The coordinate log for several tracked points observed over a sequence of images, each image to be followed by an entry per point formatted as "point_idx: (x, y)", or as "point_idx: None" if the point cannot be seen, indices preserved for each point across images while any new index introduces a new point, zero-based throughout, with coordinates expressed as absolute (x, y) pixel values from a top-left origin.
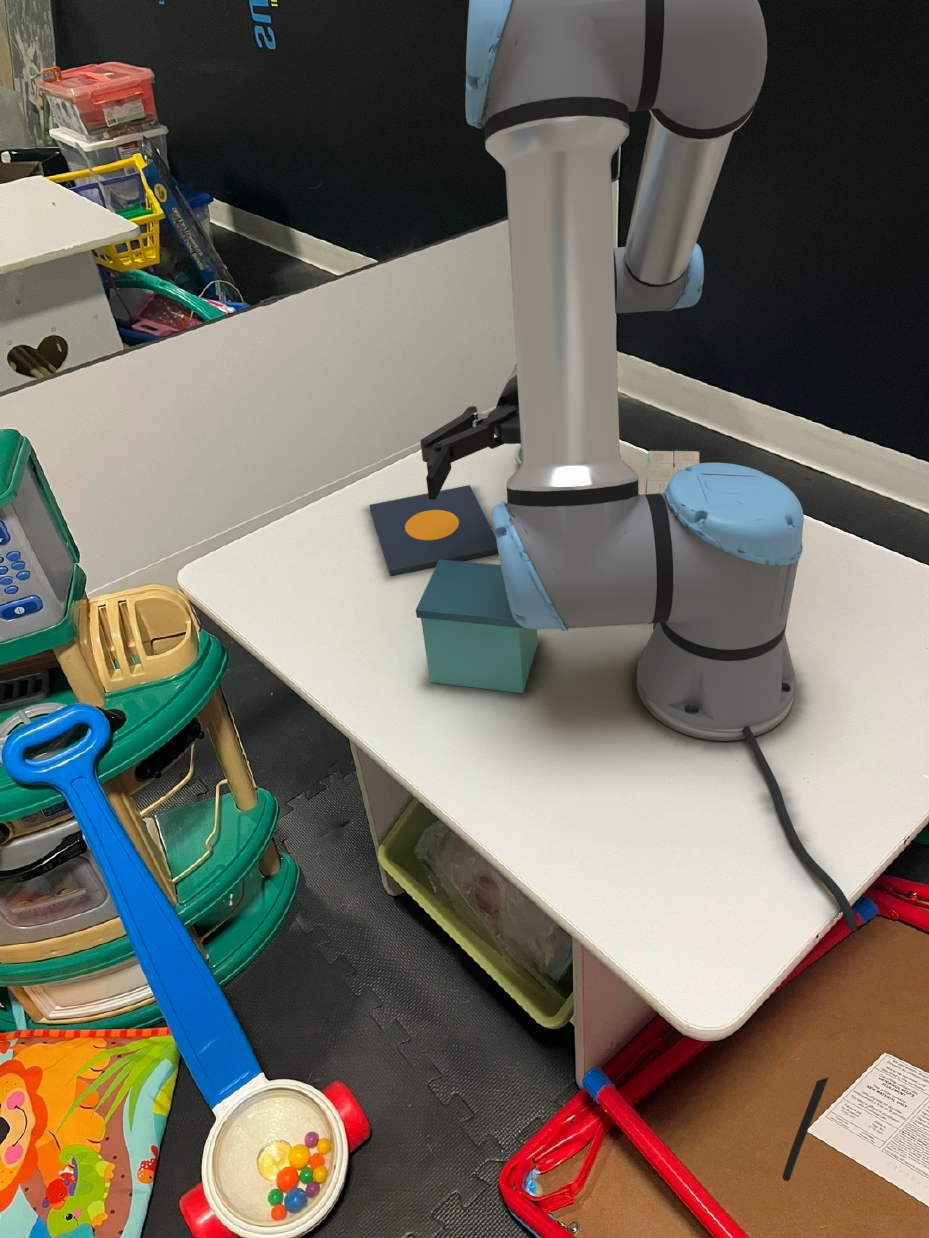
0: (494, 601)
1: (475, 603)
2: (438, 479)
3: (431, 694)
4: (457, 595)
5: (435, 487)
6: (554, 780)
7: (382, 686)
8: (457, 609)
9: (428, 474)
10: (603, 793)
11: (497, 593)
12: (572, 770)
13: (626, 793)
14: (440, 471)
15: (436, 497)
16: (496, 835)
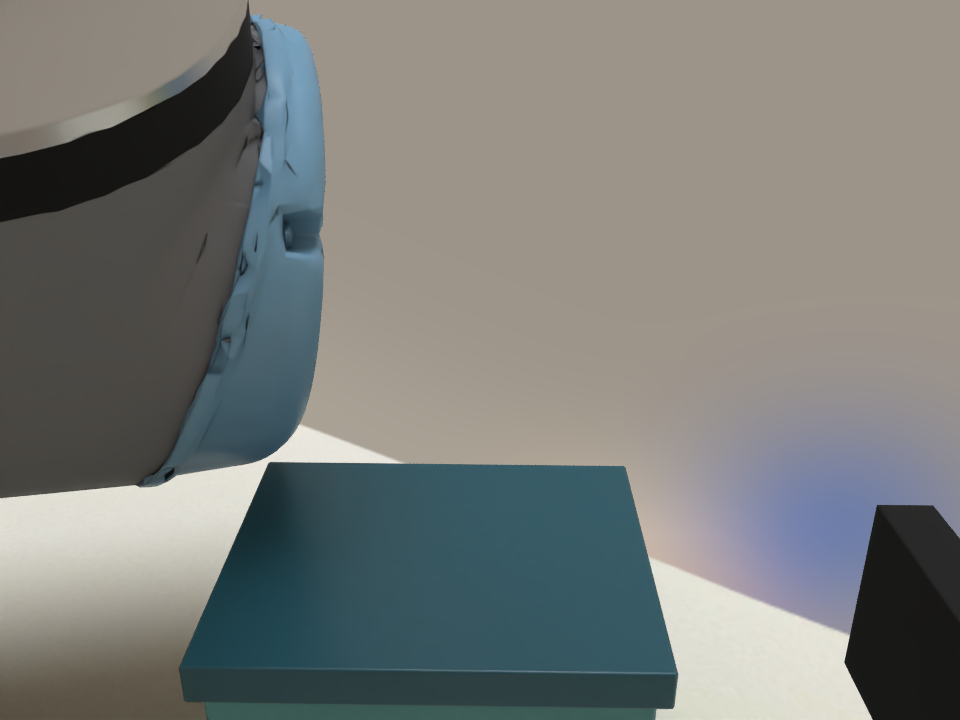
0: (365, 510)
1: (431, 499)
2: (912, 664)
3: None
4: (507, 518)
5: (870, 610)
6: (232, 536)
7: (731, 699)
8: (487, 477)
9: (947, 531)
10: (134, 525)
11: (358, 536)
12: (190, 555)
13: (87, 529)
14: (953, 691)
15: (853, 674)
16: (342, 457)
